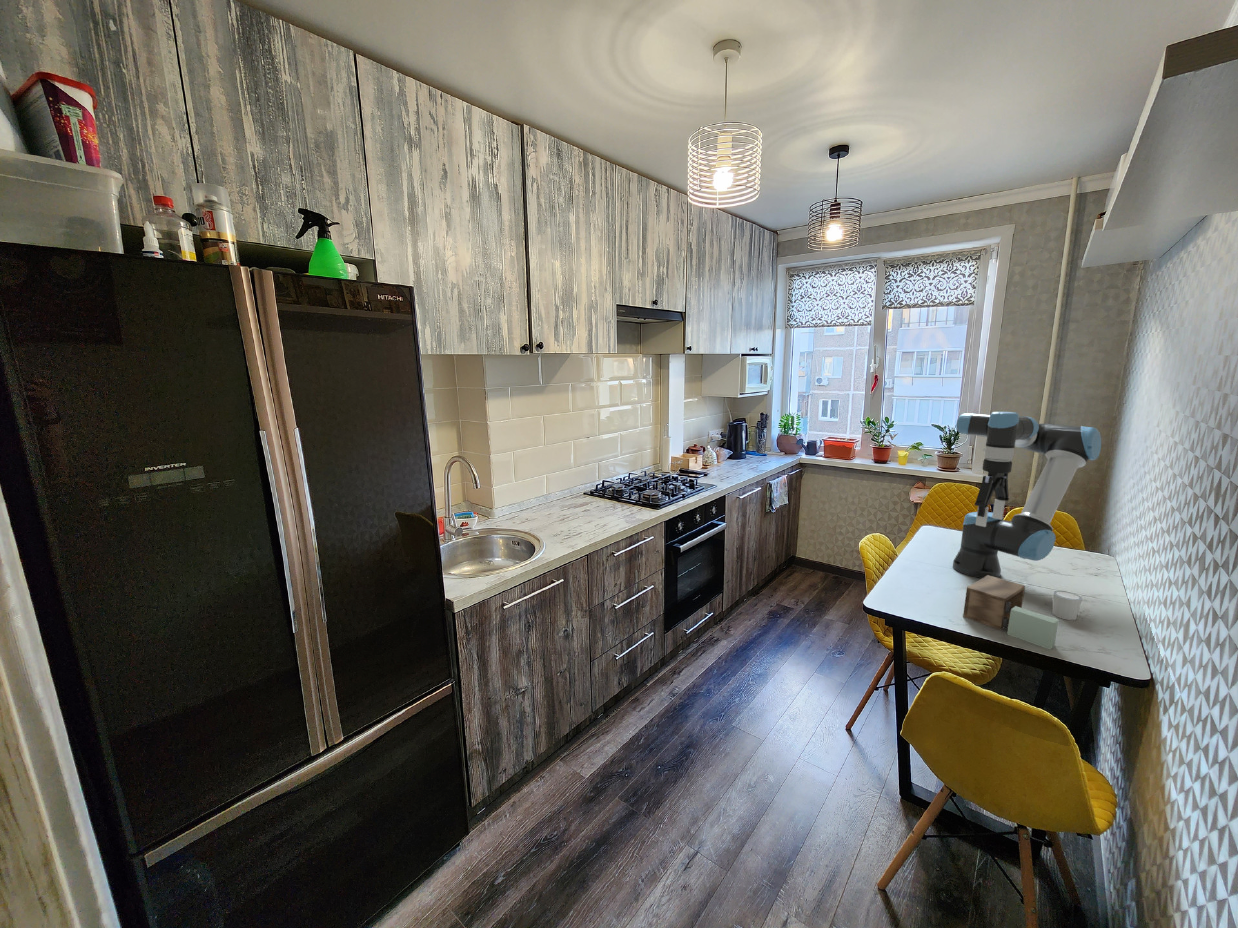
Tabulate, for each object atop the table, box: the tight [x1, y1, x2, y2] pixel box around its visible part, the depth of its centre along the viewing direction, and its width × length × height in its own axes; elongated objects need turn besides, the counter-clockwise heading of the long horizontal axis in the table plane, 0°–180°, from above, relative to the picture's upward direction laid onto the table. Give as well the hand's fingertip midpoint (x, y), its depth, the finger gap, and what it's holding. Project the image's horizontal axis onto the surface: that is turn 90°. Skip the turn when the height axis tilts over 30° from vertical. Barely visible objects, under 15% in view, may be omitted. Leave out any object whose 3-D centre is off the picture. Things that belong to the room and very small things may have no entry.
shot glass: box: [1052, 590, 1083, 621], centre depth 157 cm, size 7×7×7 cm
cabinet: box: [962, 575, 1026, 631], centre depth 156 cm, size 11×16×10 cm
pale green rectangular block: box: [1006, 606, 1060, 650], centre depth 143 cm, size 4×10×8 cm, turn 35°
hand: (989, 522), depth 166 cm, fingers open, 13 cm apart
